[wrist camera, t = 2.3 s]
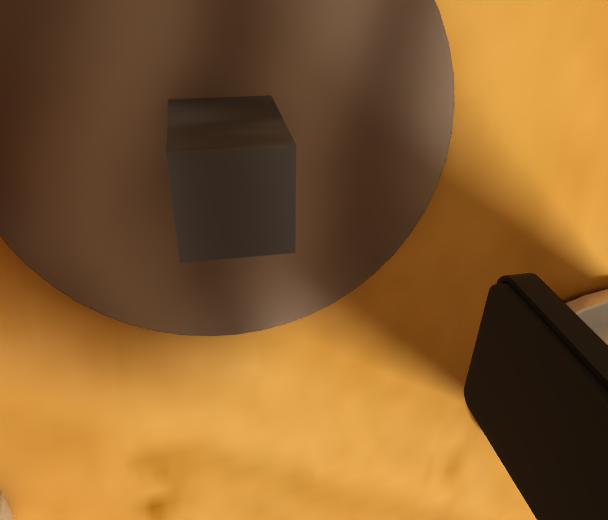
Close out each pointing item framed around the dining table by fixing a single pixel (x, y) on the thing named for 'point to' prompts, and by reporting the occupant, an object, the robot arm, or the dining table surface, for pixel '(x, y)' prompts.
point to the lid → (218, 151)
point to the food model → (4, 509)
